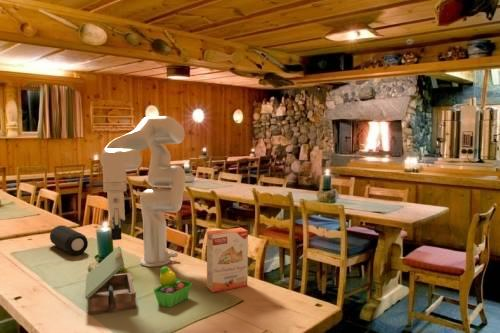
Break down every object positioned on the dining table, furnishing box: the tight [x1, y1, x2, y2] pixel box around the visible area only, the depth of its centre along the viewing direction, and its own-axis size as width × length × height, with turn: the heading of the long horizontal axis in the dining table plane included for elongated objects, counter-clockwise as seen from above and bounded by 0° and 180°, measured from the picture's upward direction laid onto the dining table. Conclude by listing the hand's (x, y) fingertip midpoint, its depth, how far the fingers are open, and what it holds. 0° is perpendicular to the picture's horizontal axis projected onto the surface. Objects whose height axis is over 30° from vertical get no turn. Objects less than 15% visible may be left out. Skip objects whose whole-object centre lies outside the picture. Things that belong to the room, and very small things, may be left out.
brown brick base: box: [87, 272, 137, 316], centre depth 141 cm, size 14×20×5 cm
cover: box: [84, 245, 125, 300], centre depth 140 cm, size 15×21×2 cm
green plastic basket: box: [153, 266, 193, 308], centre depth 140 cm, size 11×9×11 cm
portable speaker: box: [49, 225, 89, 256], centre depth 198 cm, size 26×10×10 cm, turn 43°
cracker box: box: [206, 227, 249, 293], centre depth 151 cm, size 14×6×21 cm, turn 117°
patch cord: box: [108, 284, 115, 310], centre depth 140 cm, size 1×20×1 cm, turn 20°
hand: (116, 239), depth 145 cm, fingers closed
